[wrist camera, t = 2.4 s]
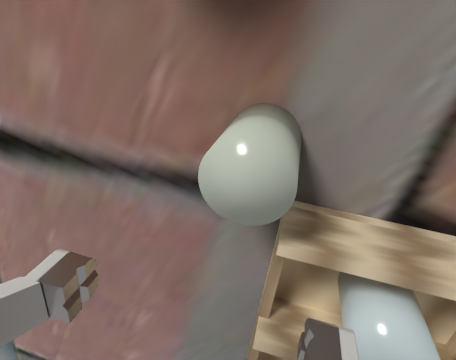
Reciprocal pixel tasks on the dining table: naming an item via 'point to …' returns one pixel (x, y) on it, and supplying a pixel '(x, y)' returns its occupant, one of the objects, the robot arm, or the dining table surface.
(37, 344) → the dining table surface
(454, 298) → the rack
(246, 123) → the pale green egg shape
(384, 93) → the dining table surface
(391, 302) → the pale blue-grey rounded dome
